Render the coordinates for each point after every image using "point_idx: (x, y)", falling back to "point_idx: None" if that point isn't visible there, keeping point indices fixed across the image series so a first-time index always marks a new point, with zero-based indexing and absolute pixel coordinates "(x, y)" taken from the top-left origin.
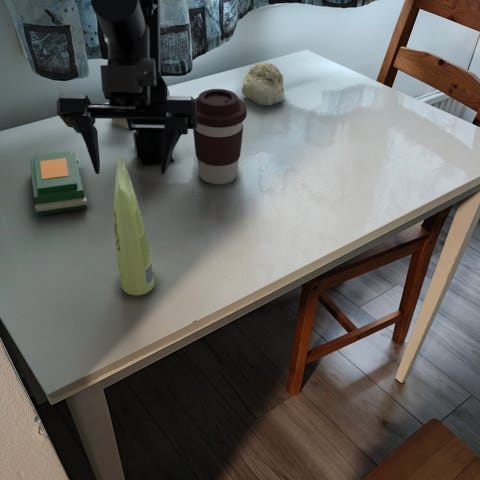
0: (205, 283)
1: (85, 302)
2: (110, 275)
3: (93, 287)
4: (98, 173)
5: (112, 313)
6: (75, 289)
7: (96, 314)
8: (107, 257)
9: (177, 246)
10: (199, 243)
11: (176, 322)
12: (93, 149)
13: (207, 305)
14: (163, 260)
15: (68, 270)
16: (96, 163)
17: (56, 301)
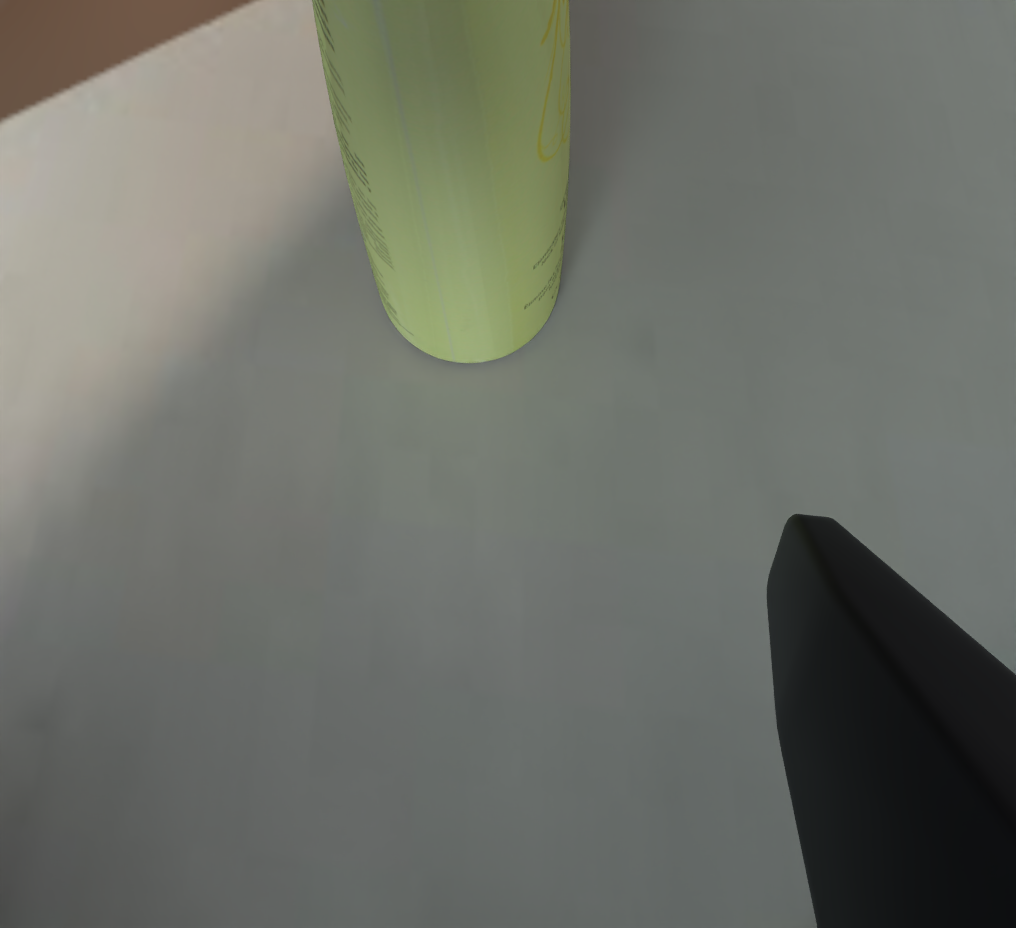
0: (109, 257)
1: (740, 191)
2: (622, 377)
3: (709, 293)
4: (777, 560)
5: (601, 106)
6: (803, 289)
7: (678, 108)
8: (647, 537)
9: (215, 595)
10: (72, 610)
11: (299, 20)
12: (951, 711)
13: (132, 106)
14: (315, 471)
15: (863, 445)
16: (832, 569)
17: (888, 214)
